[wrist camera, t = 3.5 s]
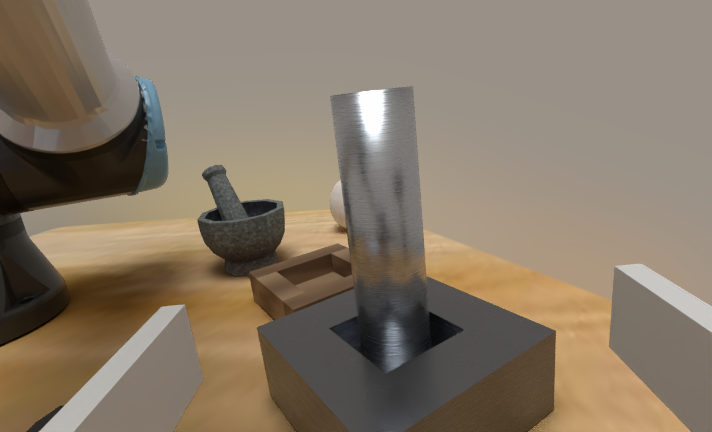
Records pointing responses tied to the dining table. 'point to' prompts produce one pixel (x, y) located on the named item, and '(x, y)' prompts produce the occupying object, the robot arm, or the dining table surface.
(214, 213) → the mortar and pestle
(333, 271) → the wooden square tray
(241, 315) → the dining table surface
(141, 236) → the dining table surface
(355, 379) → the socket
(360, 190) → the brushed metal peg
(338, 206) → the egg
